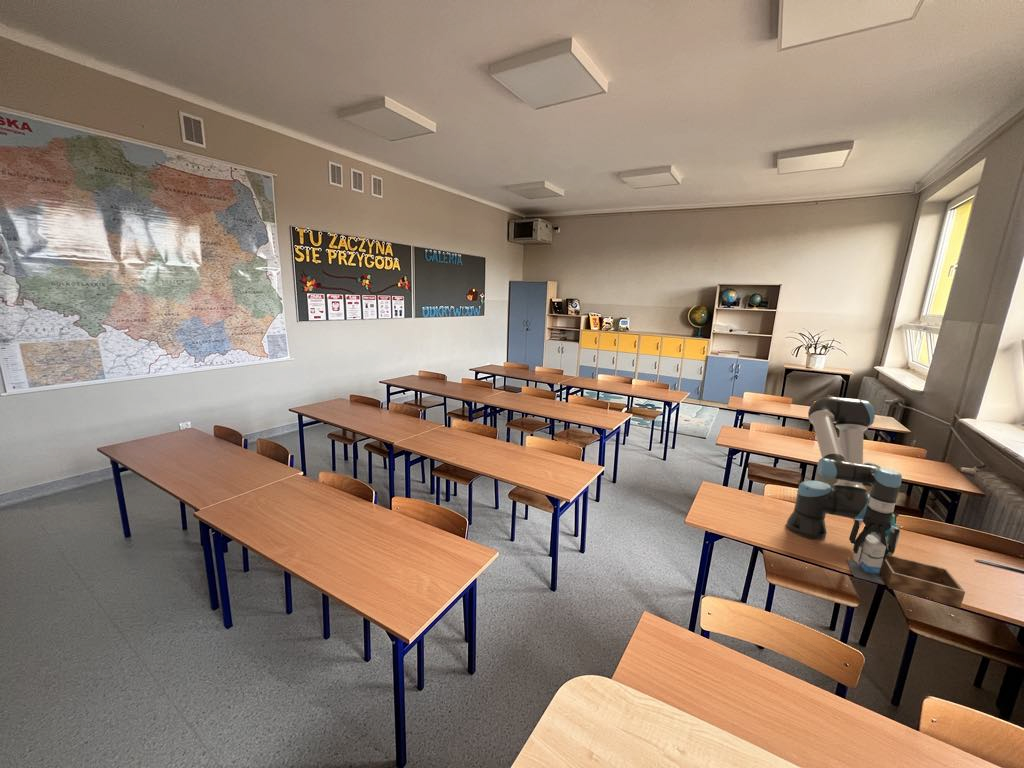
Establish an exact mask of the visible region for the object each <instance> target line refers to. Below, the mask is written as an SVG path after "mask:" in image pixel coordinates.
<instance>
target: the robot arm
mask: <svg viewBox="0 0 1024 768" xmlns="http://www.w3.org/2000/svg"><path fill="white" fill-rule="evenodd" d="M807 413H808V414H807V415H808V421H809V422H810V424H812V426H813V429H814V433H815V436H816V440H817V444H818V447H819V451H820V455H821V457H820V459H819V460H818V461H817V473H818V475H819V476H821V477H824V478H829V479H835V480H837V481H836V482H835V483H834V484H833V486H831V485H830V483H827V482H822V481H820V480H804V481H802V482H800V483H799V485H798V489H797V491H796V493H797V494H796V498H795V504H794V508H793V511H792V513H791V514H790V516H789V517H788V519H787V520H786V527H787V529H789V530H790V531H791V532H792V533H794V534H796V535H798V536H801V537H804V538H807V539H811V540H823V539H826V537H827V532H828V531H827V527H826V520H825V518H826V515H832V516H837V517H842V518H848V519H851V520H853V526H852V528H851V530H850V531H851V532H850V535H849V536H848V537H849V538H848V540H849V542H850V543H851V544H852V545H853V547H852V552H853V553H854V554H855V556H854V555H853V558H854V559H855V560H854V559H853V560H854V561H856V562H858V561H859V557H860V553H861V549H862V547H861V543H862V542H863V541H864V539H865V538H866V537H867V535H868V534H870V533H871V531H872V532H877V533H879V536H880V542H881V543H882V544H884V545H885V546H886V550H885V553H884V557H883V560H885V558H886V554H888V553H889V552H891V553H893V554H895V552H894V550H895V551H896V549H895V544H896V538H897V535H898V533H899V534H900V532H901V530H900V528H899V529H898V528H897V527H894V526H891V519H892V516H893V514H894V510H895V506H896V502H897V498H898V494H899V492H900V489H901V486H902V479H903V477H902V474H901V473H900V472H898V471H897V470H894V469H891V468H886V467H881V466H880V465H878V464H876V463H874V462H864V435H865V434H864V433H865V432H866V431H867V430H868V429H869V427H870V426H872V425H873V424H874V423H875V421H874V420H875V416H876V415H875V409H874V406H873V404H871V402H870V401H868V400H865V399H858V398H847V397H837V396H824V397H821V398H818V399H817V400H815V401H814V402H813V403H812V404H811V405H810V406H809V409H808V412H807ZM834 423H835V424H834ZM836 428H837V429H838V430H839V434H838V433H837V430H836ZM838 435H839V437H838ZM864 484H866V485H869V486H870V493H868V492H867V491H868V490H867V488H866V487H865V486H864ZM832 487H833V488H832ZM862 524H864V527H863V529H862V531H860V532H859V530H860V526H861V525H862ZM888 529H890V531H891V533H890V539H889V545H888V548H887V545H886V539H885V531H887V530H888ZM858 533H860V534H858Z"/></svg>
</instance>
